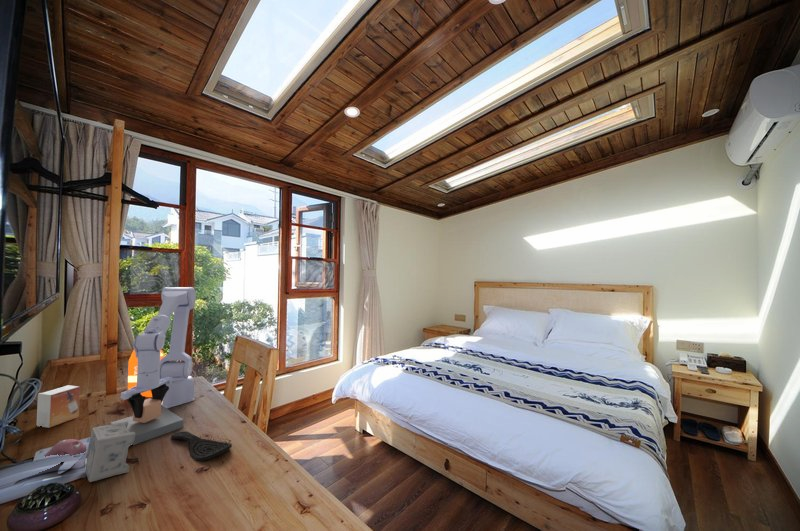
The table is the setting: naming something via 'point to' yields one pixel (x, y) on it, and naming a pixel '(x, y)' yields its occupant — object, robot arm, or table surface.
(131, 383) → the orange juice
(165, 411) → the plinth
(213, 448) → the hairbrush
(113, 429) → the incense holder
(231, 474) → the table surface
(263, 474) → the table surface
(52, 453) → the pink rounded lump
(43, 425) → the small box
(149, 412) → the terracotta block
